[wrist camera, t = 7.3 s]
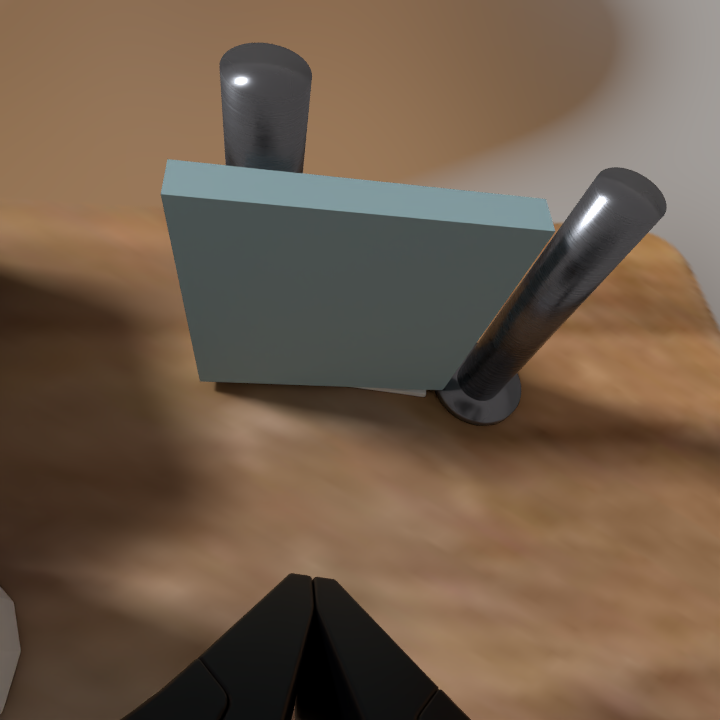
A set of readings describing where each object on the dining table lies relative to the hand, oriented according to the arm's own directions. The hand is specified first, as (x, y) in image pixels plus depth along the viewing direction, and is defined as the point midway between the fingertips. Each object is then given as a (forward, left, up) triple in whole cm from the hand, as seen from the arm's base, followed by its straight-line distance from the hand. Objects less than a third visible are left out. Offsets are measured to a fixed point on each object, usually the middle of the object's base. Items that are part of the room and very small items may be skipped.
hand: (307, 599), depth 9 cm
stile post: (+10, -8, -10) cm, 16 cm away
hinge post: (+1, -13, -10) cm, 16 cm away
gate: (+6, -8, -10) cm, 14 cm away
